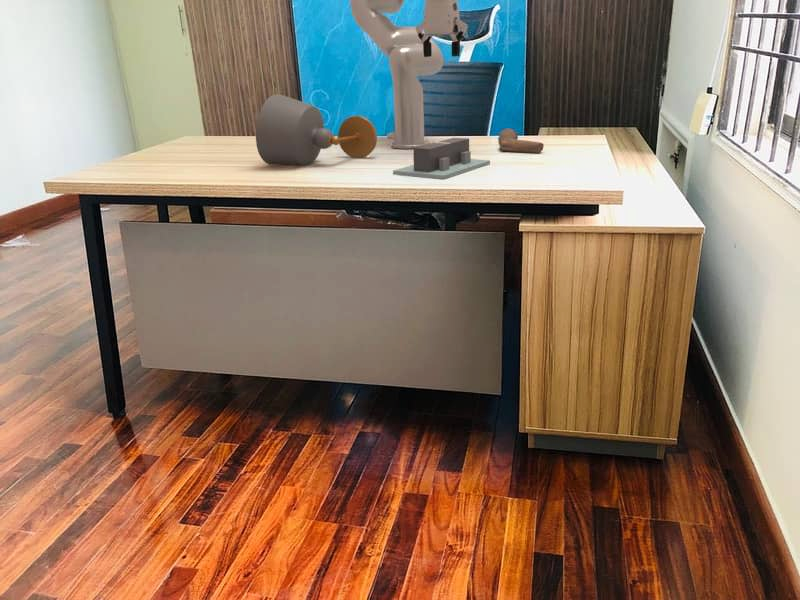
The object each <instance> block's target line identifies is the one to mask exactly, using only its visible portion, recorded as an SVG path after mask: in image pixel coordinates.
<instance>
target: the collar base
mask: <svg viewBox="0 0 800 600" xmlns="http://www.w3.org/2000/svg"><path fill="white" fill-rule="evenodd" d="M471 156H472V155H471V151H470V150H469V151H466V152H463V153H461V163H459V164H455V165H452V166H449V158H442V159H439V170H436V171H433V172H421V171H414V164H412V165H409V166H405V167H401V168H397V169H394V170H392V175H395V174H397V175H398V176H407V177H414V178H415V177H417V178H427V179H437V180H446V179H448V178H453V177H455V176H459V175H461V174H464V173H467V172H470V171H473V170H476V169H480V168H482V167H486V166H488V165H490V164H491V160H489V159H474V158H471ZM397 175H396V176H397Z"/></svg>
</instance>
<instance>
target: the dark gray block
mask: <svg viewBox="0 0 800 600" xmlns="http://www.w3.org/2000/svg"><path fill="white" fill-rule="evenodd" d="M412 151H413V165H414V171H421V172H433V171H436V170H439V159H442V158H449V166H452V165H455V164H459V163H461V153H463V152H466V151H470V138H467V137H465V138H464V137H452V138H447V139H443V140H439V141H434V142H432V143H429V144H427V145H423V146H419V147H415V148H413V150H412Z"/></svg>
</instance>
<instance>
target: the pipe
mask: <svg viewBox="0 0 800 600" xmlns="http://www.w3.org/2000/svg"><path fill="white" fill-rule="evenodd" d="M518 137H519V136H518V133H517V131H515V129H513V128H505V129H503V130H501V131H500V132H499V136H498V138H497V141H498V145H499V149H500V150H501V151H503V152H508V153H509V152H510V153H520V154H521V153H522V154H523V153H525V154H540V153H541V152H542V151H543V149H544V146H545V145H544V143H542V142H540V141H531V140H525V139H518Z"/></svg>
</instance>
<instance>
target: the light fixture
mask: <svg viewBox="0 0 800 600" xmlns="http://www.w3.org/2000/svg"><path fill="white" fill-rule="evenodd" d="M377 142H378V134H377V130H376V127H375V126H374V124H373V122H371V121H370V120H369V119H368V118H366V117H365V116H363V115H362V116H361V115H352V116H349V117H347V118H346V119H345V120H344V121H343V122H342V123H341V124H340V126H339V129H338V131H337V136H336V135H335V136H334V134H333V132H332V131H331V130H330V129H328V128H327V127H325V122H324V118H323V114H322V112H321V111H320V109H319V108H318V107H317V106H315V105H313V104H309V103H307V102H304V101H301V100H298V99H295V98H292V97H289V96H286V95H283V94H280V93H276V94H272V95H271V96H268V98H267V99H266V100H265V102H264V103H263V104H262V106H261V108H260V110H259V114H258V117H257V121H256V126H255V143H256V149H257V153H258V155H259V156H260V159H261V160H262V161H263V162H264V163H265V164H267V165H271V164H279V165H278V166H299V165H301V166H304V167H306V166H310V165H311V164H313V163H314V162H315V160H317V158H318V156H319V154H320V152H321V150H322V149H323V150H326V149H329V148H330V147H332V145H334V146H336V145H339V146H340V149H341V150H342V151H343V153H344V154H346V156H348V157H350V158H353V159H362V158H366V157H368V156H369V155H371V153H372V152H374V150H375V148H376V146H377ZM309 164H310V165H309Z"/></svg>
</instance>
